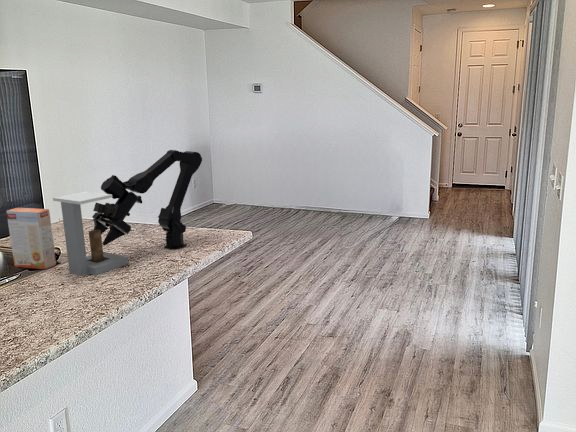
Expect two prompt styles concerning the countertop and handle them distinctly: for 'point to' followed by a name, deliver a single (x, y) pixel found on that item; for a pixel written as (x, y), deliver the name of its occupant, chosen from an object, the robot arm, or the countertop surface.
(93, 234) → the walnut peg
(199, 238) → the countertop surface
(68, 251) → the socket stand
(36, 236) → the cracker box
